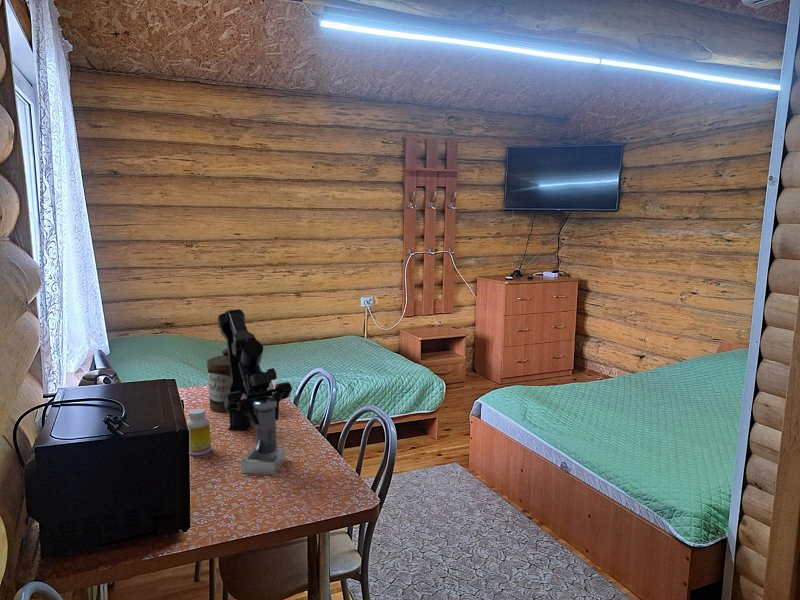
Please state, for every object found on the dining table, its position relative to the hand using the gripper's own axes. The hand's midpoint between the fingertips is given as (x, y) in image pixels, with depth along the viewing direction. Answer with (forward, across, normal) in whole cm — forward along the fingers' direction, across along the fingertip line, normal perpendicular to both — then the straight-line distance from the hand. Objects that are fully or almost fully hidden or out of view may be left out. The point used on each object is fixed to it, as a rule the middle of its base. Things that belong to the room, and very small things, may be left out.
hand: (266, 422), depth 159 cm
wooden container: (-31, +6, +50) cm, 59 cm away
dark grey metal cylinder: (+5, 0, +7) cm, 9 cm away
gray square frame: (+9, -1, +10) cm, 13 cm away
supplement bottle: (-6, -14, +25) cm, 29 cm away
